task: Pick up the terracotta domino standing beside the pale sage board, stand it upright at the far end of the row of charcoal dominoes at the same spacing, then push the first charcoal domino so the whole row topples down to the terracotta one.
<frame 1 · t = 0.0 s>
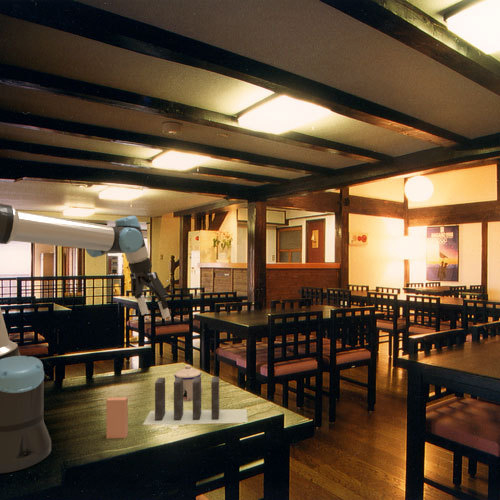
hand: (155, 315, 141), 28 cm above the table, tool tilted 20°, fingers open, 13 cm apart
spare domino: (117, 440, 104), on the table
domino 3: (197, 416, 116), point 1 cm above the table, touching board
board: (197, 419, 116), on the table
teacup with lid: (190, 401, 132), on the table
domino 2: (178, 416, 116), point 1 cm above the table, touching board
domino 1: (160, 417, 116), point 1 cm above the table, touching board
domino 4: (215, 416, 117), point 1 cm above the table, touching board
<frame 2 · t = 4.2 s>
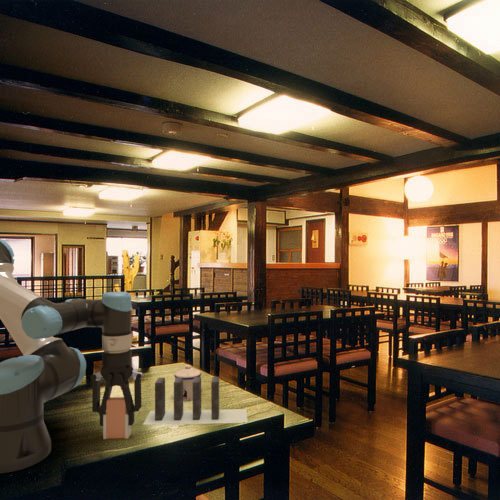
hand: (117, 437, 104), 1 cm above the table, tool pointing down, fingers closed on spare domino, 5 cm apart
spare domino: (117, 440, 104), on the table, touching gripper
everything else where it was.
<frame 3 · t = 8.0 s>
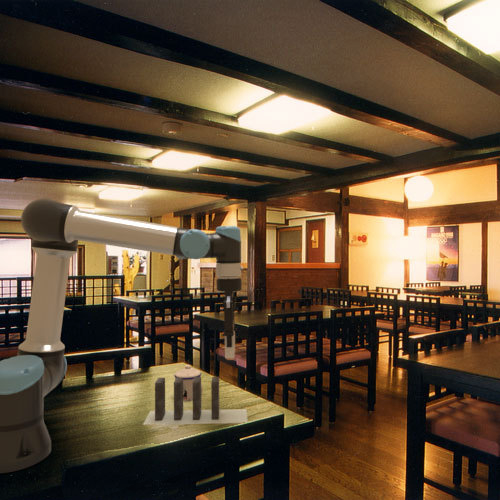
hand: (230, 355, 117), 19 cm above the table, tool pointing down, fingers closed on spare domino, 5 cm apart
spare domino: (230, 357, 116), point 19 cm above the table, touching gripper
everything else where it was.
when the fingers open (3 cm above the table, at t = 11.6 s): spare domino drops 1 cm, resting on board.
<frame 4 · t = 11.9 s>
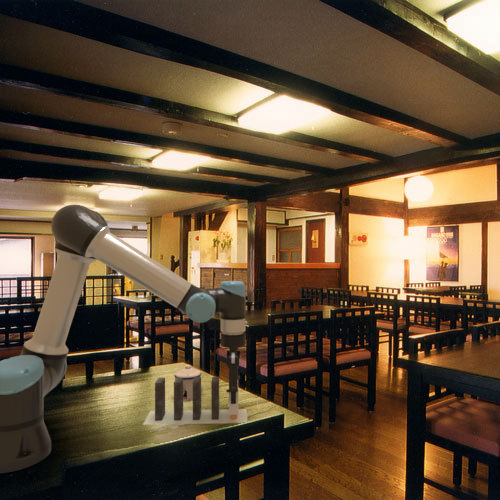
hand: (233, 407, 117), 4 cm above the table, tool pointing down, fingers open, 9 cm apart
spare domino: (234, 415, 117), point 1 cm above the table, touching board
everything else where it was.
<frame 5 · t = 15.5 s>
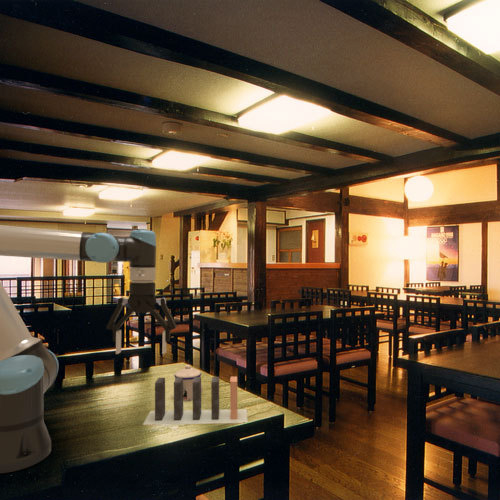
hand: (141, 352, 116), 20 cm above the table, tool pointing down, fingers open, 13 cm apart
nothing on the table moved.
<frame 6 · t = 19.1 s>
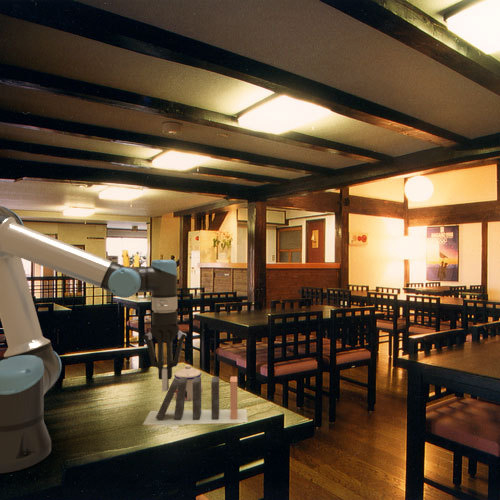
hand: (165, 389, 116), 9 cm above the table, tool pointing down, fingers closed
domino 2: (178, 416, 116), point 1 cm above the table, tilted 7°, touching board
domino 1: (160, 415, 116), point 1 cm above the table, tilted 25°, touching board
everything else where it was.
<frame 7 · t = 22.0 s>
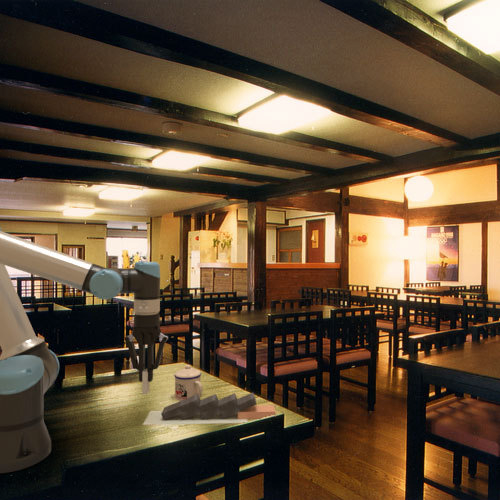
hand: (145, 392, 116), 9 cm above the table, tool pointing down, fingers closed
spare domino: (238, 412, 117), point 2 cm above the table, tilted 90°, touching board, domino 4
domino 3: (202, 413, 116), point 2 cm above the table, tilted 68°, touching board, domino 2, domino 4
domino 2: (182, 413, 116), point 2 cm above the table, tilted 69°, touching board, domino 1, domino 3
domino 1: (164, 413, 116), point 2 cm above the table, tilted 69°, touching domino 2
domino 4: (220, 412, 117), point 2 cm above the table, tilted 68°, touching domino 3, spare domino
everything else where it was.
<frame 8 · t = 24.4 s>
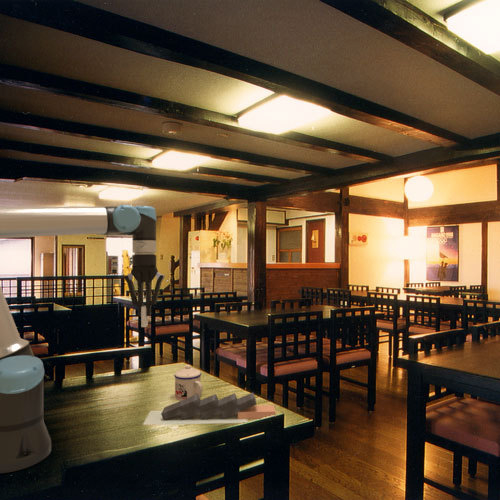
hand: (144, 326, 126), 26 cm above the table, tool pointing down, fingers closed
nothing on the table moved.
at the end: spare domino tilted 90°; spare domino inside the target area (0.7 cm from its centre), point 2.0 cm above the table; domino 1 tilted 69° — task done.
